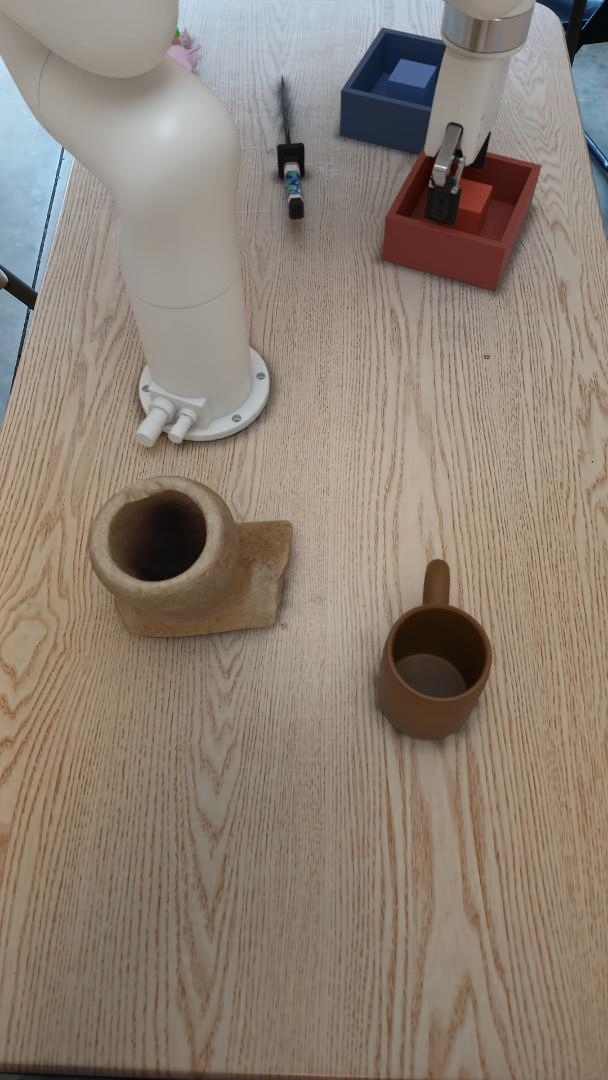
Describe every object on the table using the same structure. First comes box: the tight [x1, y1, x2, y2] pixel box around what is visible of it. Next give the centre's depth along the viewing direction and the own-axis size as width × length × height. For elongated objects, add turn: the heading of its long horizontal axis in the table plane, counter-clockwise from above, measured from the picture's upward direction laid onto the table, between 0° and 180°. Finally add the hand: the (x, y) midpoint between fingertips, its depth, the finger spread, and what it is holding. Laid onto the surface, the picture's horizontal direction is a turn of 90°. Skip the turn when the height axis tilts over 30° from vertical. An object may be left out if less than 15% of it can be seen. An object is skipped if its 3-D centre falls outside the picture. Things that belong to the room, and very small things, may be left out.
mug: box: [377, 558, 493, 741], centre depth 62 cm, size 12×8×9 cm, turn 175°
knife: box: [276, 74, 306, 221], centre depth 96 cm, size 31×3×4 cm, turn 1°
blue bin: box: [339, 27, 446, 155], centre depth 99 cm, size 14×13×6 cm
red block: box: [435, 176, 493, 236], centre depth 88 cm, size 4×4×4 cm
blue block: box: [387, 59, 437, 107], centre depth 99 cm, size 4×4×4 cm
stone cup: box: [87, 475, 294, 638], centre depth 63 cm, size 15×12×15 cm
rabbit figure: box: [167, 25, 202, 73], centre depth 104 cm, size 6×6×15 cm
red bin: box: [381, 145, 542, 292], centre depth 88 cm, size 14×13×6 cm
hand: (454, 191), depth 86 cm, fingers open, 9 cm apart
